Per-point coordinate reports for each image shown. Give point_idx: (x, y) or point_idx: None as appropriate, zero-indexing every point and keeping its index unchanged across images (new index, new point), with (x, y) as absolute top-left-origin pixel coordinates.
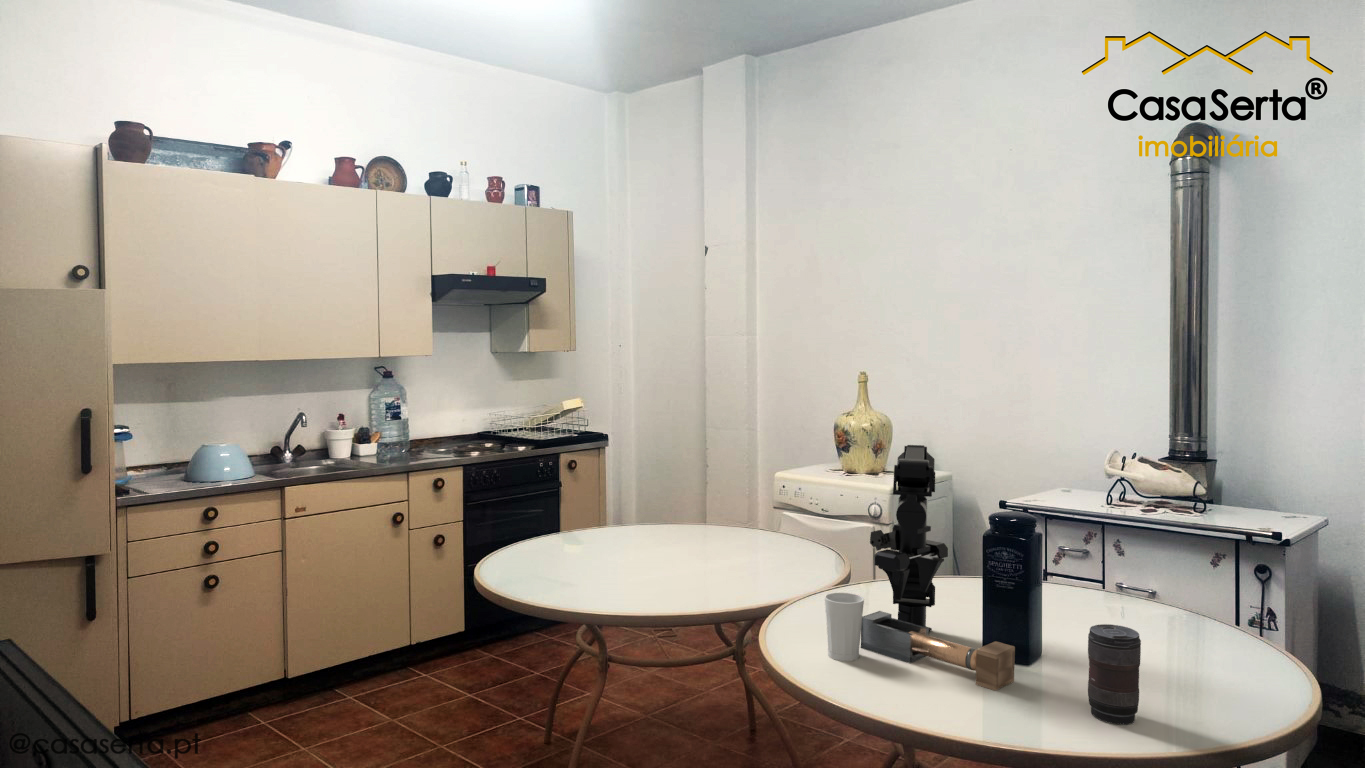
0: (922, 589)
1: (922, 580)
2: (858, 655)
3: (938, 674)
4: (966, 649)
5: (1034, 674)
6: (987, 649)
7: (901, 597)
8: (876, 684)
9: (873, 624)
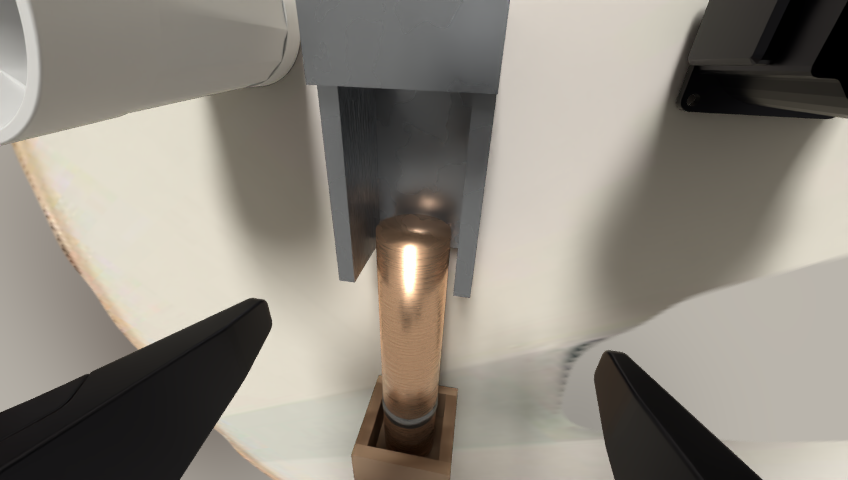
0: (606, 375)
1: (648, 458)
2: (269, 82)
3: (367, 308)
4: (393, 409)
5: (526, 435)
6: (371, 470)
7: (259, 345)
8: (193, 235)
9: (318, 87)
